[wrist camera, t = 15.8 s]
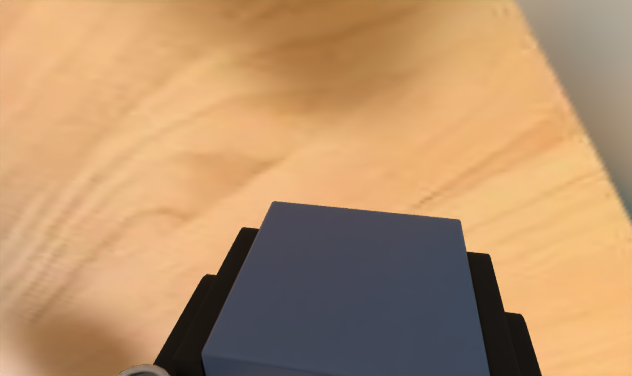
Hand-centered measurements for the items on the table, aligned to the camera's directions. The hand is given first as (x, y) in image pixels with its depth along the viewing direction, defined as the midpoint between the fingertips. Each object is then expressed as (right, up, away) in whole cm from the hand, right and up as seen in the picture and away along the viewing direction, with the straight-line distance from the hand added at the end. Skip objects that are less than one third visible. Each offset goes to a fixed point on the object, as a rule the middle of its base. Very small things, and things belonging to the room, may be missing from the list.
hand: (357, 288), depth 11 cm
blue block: (0, 0, 0) cm, 0 cm away
